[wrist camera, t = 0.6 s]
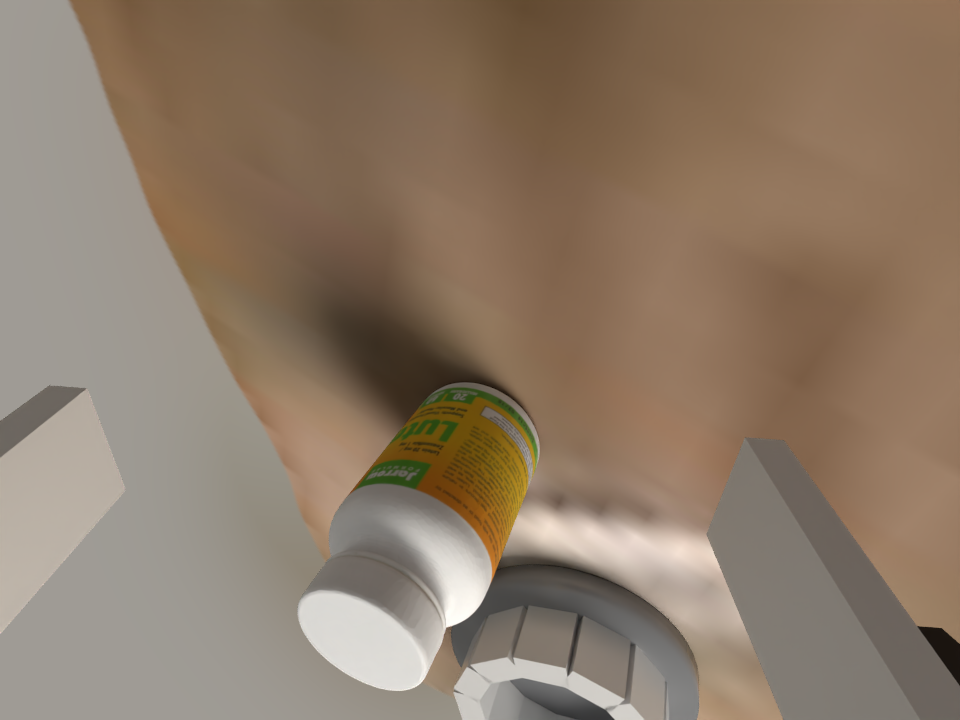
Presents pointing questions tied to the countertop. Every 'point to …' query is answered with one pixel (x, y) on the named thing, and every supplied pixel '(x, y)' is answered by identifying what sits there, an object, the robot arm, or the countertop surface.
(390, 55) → the countertop surface
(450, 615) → the supplement bottle
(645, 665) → the bottle holder
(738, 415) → the countertop surface
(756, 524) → the robot arm
